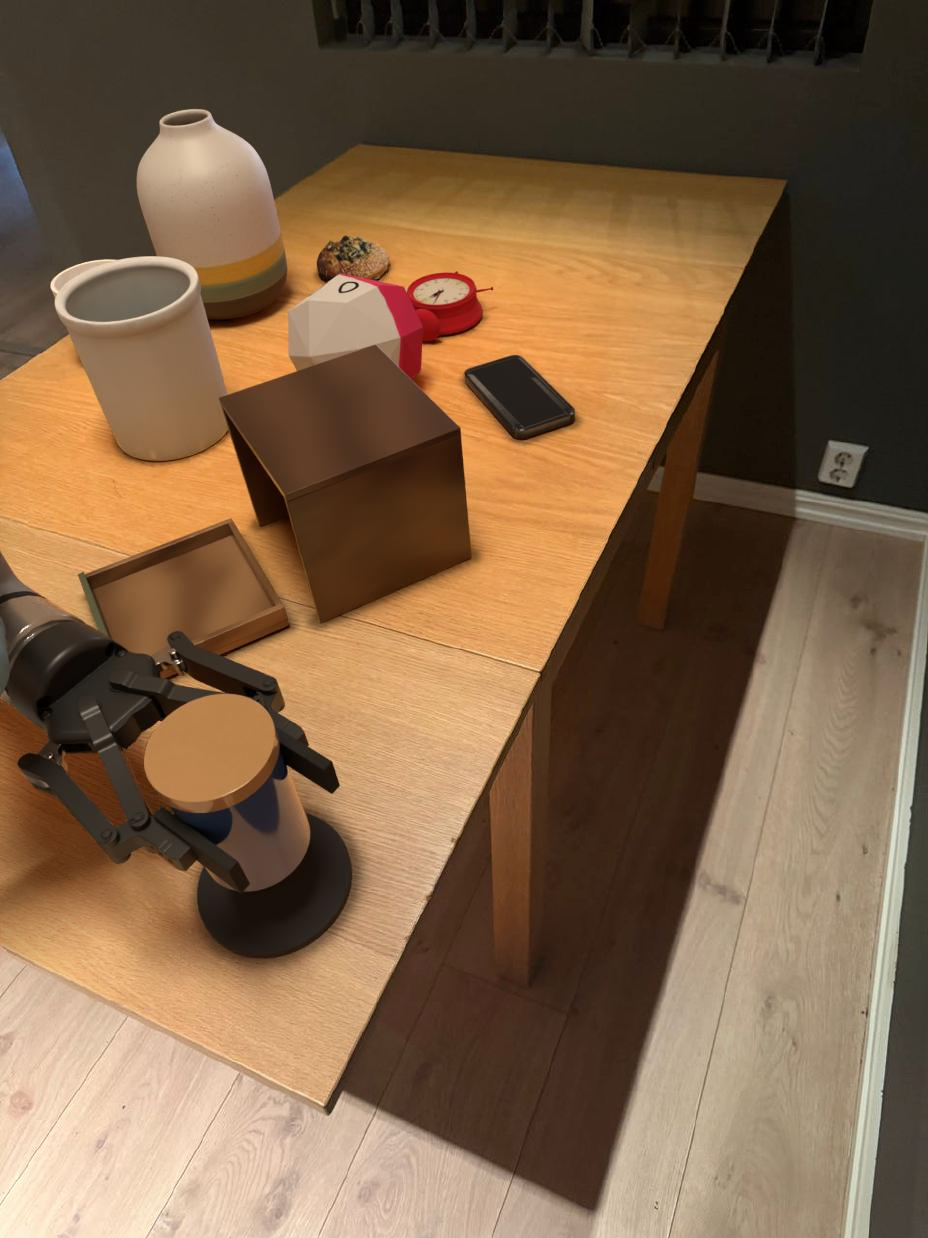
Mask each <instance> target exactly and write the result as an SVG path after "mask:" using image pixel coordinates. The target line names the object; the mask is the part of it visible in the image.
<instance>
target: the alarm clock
mask: <svg viewBox="0 0 928 1238" xmlns="http://www.w3.org/2000/svg"><path fill="white" fill-rule="evenodd" d="M486 291H494V286H491V287H490V288H489V287H488V288H480V289H477V286H476V283H475V281H474V280H473V279H472V278H471V277H469V276H468V275H465V274H462V273H459V271H454V272H445V271H443V272H436V273H430V274H427V275H424V276H421V277H419V278H417V279H415V280H414V281H412V282H411V283H410V284H409V285H408V287H407V289H406V292H407V294H408V296H409V298H410V301H411V303H412V305H413V307H414V309H415V311H416V313H417V315H418V318H419V320H420V322H421V324H422V326H423V339H422V342H433V341H435V340H437V338H438V337H439V336H443V335H451V334H456V333H460V332H463V331H466V330H467V329H470V328H472V327H473V326H474V325H476V324H477V323H478V322H479V321H480V320H481V319H482V317H483V306H482V304H481V303H480V300H479V299H478V296H477V294H478V293H481V292H482V293H483V292H486Z"/></svg>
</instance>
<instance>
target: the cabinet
mask: <svg viewBox="0 0 928 1238" xmlns="http://www.w3.org/2000/svg"><path fill="white" fill-rule="evenodd" d="M219 402H220V404H221V408H222V411H223V414H224V417H225V421H226V424H227V427H228V433H229V437H230V439H231V443H232V446H233V449H234V453H235V456H236V459H237V462H238V465H239V468H240V471H241V474H242V478H243V482H244V484H245V488H246V490H247V495H248V497H249V500H250V504H251V506H252V509H253V513H254V515H255V519H256V523H257V524H258V526H259V527H262V526H264V525H267V524H270V523H272V522H275V521H278V520H280V519H282V518H285V517H288V516H289V520H290V524H291V528H292V531H293V535H294V537H295V542H296V546H297V549H298V553H299V557H300V560H301V563H302V567H303V571H304V574H305V577H306V581H307V585H308V588H309V592H310V596H311V600H312V602H313V607H314V610H315V613H316V618H317V620H318V621H319V623H320V624H322V623H325V622H327V621H329V620H331V619H334V618H336V617H339V616H341V615H344V614H346V613H347V612H350V611H353V610H355V609H356V608H359V607H361V606H364V605H366V604H368V603H371V602H373V601H375V600H377V599H380V598H382V597H385V596H387V595H389V594H392V593H394V592H396V591H398V590H401V589H403V588H406V587H407V586H410V585H413V584H414V583H417V582H419V581H421V580H424V579H426V578H429V577H431V576H434V575H436V574H438V573H440V572H442V571H444V570H447V569H450V568H451V567H454V566H456V565H458V564H461V563H463V562H465V561H467V560H470V559H472V558H473V556H472V545H471V535H470V523H469V512H468V511H469V510H468V499H467V498H468V497H467V489H466V488H467V487H466V477H465V465H464V454H463V443H462V430H461V427H460V425H458V424H457V423H456V422H455V421H454V419H452V418H451V417H450V416H449V415H448V413H446V412H445V411H444V410H443V409H442V408H441V407H440V406H439V405H438V404H437V403H436V402H435V401H434V400H433V399H432V398H431V397H430V396H429V395H428V394H427V393H426V392H425V391H424V390H423V389H422V388H421V387H420V386H419V385H418V384H417V383H416V382H415V381H414V380H413V379H410V378H409V377H408V376H407V375H406V374H405V373H404V372H403V371H402V370H401V369H400V368H399V367H398V366H397V365H396V364H395V363H394V362H393V361H392V360H391V359H390V358H389V357H388V356H387V355H386V354H385V353H384V352H383V351H382V350H381V349H380V348H379V347H378V346H377V345H373V346H370V347H367V348H364V349H361V350H358V351H355V352H352V353H349V354H346V355H343V356H340V357H337V358H334V359H331V360H328V361H326V362H323V363H320V364H317V365H314V366H311V367H308V368H305V369H302V370H299V371H297V370H295V371H294V372H293V371H292V372H290V373H288V374H283V375H282V376H279V377H276V378H273V379H270V380H267V381H263V382H261V383H258V384H255V385H252V386H249V387H246V388H243V389H241V390H238V391H235V392H232V393H229V394H227V395H226V396H223V397H220V398H219Z"/></svg>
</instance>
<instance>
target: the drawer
mask: <svg viewBox="0 0 928 1238" xmlns="http://www.w3.org/2000/svg"><path fill="white" fill-rule="evenodd" d="M77 577H78V579H79V582H80V585H81V588H82V590H83V594H84V596H85V598H86V601H87V604H88V606H89V610H90V612H91V615H92V617H93V620H94V623H95V626H96V630H98V631H100V632H101V633H103V634H104V635H106V636H108V637H109V638H111V639H112V640H114V641H116V642H117V643H119V644H120V645H122V646H123V647H124V648H126V649H127V650H128V651H130V652H133V653H143V654H147V655H149V656H152V655H153V654H155V653H157V652H158V651H160V650H162V649H163V648H165V647H167V646H168V645H169V643H168V641H167V637H168V635H169V634H171V633H172V632H174V631H181V632H183V633H184V634H185V635H186V636H187V637H188V638H189V640H190V641H191V642H192V643H193V644H194V645H196V646H198V647H201V648H203V649H205V650H208V651H210V652H213V653H215V654H218V655H220V656H222V654H223V655H224V654H225V653H227V652H230V651H232V650H234V649H236V648H239V647H241V646H244V645H246V644H248V643H251V642H253V641H255V640H258V639H260V638H262V637H265V636H267V635H270V634H271V633H274V632H276V631H279V630H281V629H283V628H286V627H288V626H290V624H291V623H290V620H289V617H288V614H287V610H286V607H285V605H284V604H283V602H282V599H281V598H280V597H279V595H278V593H277V592H276V591H275V588H274V587H273V585H272V583H271V581H270V580H269V579H268V577H267V575H266V573H265V571H264V570H263V568H262V567H261V565H260V564H259V562H258V560H257V559H256V557H255V555H254V554H253V552H252V550H251V548H250V546H249V545H248V543H247V542H246V540H245V538H244V536H243V535H242V533H241V531H240V529H239V527H237V525H236V523H235V522H234V519H233V518H232V517H230V518H228V519H224V520H222V521H219V522H217V523H215V524H212V525H209V526H206V527H204V528H202V529H198V530H196V531H194V532H191V533H188V534H186V535H183V536H180V537H177V538H175V539H173V540H170V541H167V542H165V543H161V544H160V545H157V546H155V547H152V548H149V549H147V550H144V551H142V552H139V553H136V554H133V555H131V556H128V557H126V558H122V559H120V560H118V561H115V562H112V563H110V564H108V565H104V566H102V567H100V568H97V569H95V570H94V569H93V570H92V571H89V572H87V573H85V572H84V571H82V572H80V573H77ZM176 674H177V673H175V672H173V671H171V670H165V671H162V672H161V678H165V679H168V678H169V677H171V676H174V675H176Z"/></svg>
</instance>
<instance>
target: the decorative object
mask: <svg viewBox="0 0 928 1238" xmlns="http://www.w3.org/2000/svg"><path fill="white" fill-rule="evenodd" d="M287 317H288V318H287V331H288V333H287V334H288V337H287V338H288V339H287V340H288V357H289V359H290V361H291V363H292V364H293V367H294V369H295V371H299V370H302V369H305V368H308V367H311V366H314V365H317V364H320V363H323V362H326V361H328V360H331V359H334V358H337V357H340V356H343V355H346V354H349V353H352V352H355V351H358V350H361V349H364V348H367V347H370V346H373V345H377V346H378V347H379V348H380V349H381V350H382V351H383V352H384V353H385V354H386V355H387V356H388V357H389V358H390V359H391V360H392V361H393V362H394V363H395V364H396V365H397V366H398V367H399V368H400V369H401V370H402V371H403V372H404V373H405V374H406V375H407V376H408V377H409V378H410V379H411V380H413V379H414V378H415V377H416V376H417V375H418V374H419V373H421V371H422V359H423V358H422V357H423V341H422V339H423V326H422V324H421V322H420V320H419V318H418V315H417V313H416V311H415V309H414V307H413V305H412V303H411V301H410V298H409V296H408V294H407V289H406V288H405V286H403V285H399V284H393V283H389V282H384V281H378V280H376V279H374V280H370V279H365V278H361V277H356V276H351V275H346V274H341V273H340V274H339V275H337V276H336V277H334V278H333V279H332V280H330V281H327V282H326V283H324V284H323V285H321V286H320V287H319V288H318V289H316V290H315V291H314V292H313V293H310V295H308V296H307V297H305V298H304V299H302V300H300V302H299V303H297V304H296V305H294V306H292V308H290V309H289V310H287Z"/></svg>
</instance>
